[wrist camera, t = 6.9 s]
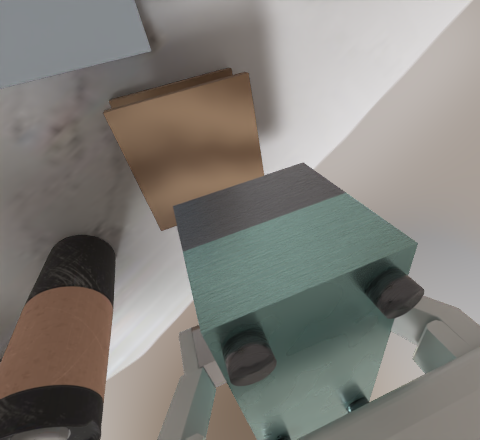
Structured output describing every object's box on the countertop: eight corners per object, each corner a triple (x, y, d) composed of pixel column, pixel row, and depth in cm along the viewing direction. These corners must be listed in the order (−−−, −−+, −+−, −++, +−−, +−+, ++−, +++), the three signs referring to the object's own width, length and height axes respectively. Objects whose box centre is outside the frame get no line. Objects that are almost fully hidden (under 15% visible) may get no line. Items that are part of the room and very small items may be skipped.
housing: (309, 314, 16) (377, 419, 11) (231, 347, 15) (271, 475, 10) (303, 162, 10) (443, 261, 5) (172, 206, 9) (207, 363, 5)
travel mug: (35, 268, 31) (-67, 494, 16) (66, 222, 30) (-16, 426, 14) (99, 286, 36) (69, 477, 20) (129, 247, 34) (122, 424, 18)
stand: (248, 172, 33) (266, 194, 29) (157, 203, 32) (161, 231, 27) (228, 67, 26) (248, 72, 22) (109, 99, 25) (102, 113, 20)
